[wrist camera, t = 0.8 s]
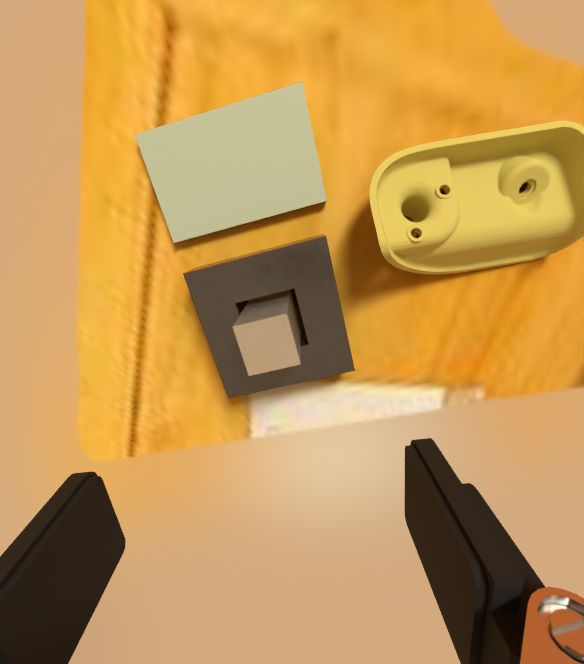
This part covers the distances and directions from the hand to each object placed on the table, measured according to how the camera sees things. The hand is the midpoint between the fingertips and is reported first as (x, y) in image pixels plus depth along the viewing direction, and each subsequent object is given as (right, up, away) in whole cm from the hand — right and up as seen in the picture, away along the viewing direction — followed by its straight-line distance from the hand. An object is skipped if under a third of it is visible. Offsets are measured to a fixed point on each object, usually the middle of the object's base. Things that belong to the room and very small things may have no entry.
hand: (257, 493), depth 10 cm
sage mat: (-4, +21, +22) cm, 30 cm away
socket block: (-1, +7, +26) cm, 27 cm away
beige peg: (-1, +7, +26) cm, 27 cm away
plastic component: (+18, +18, +23) cm, 34 cm away
